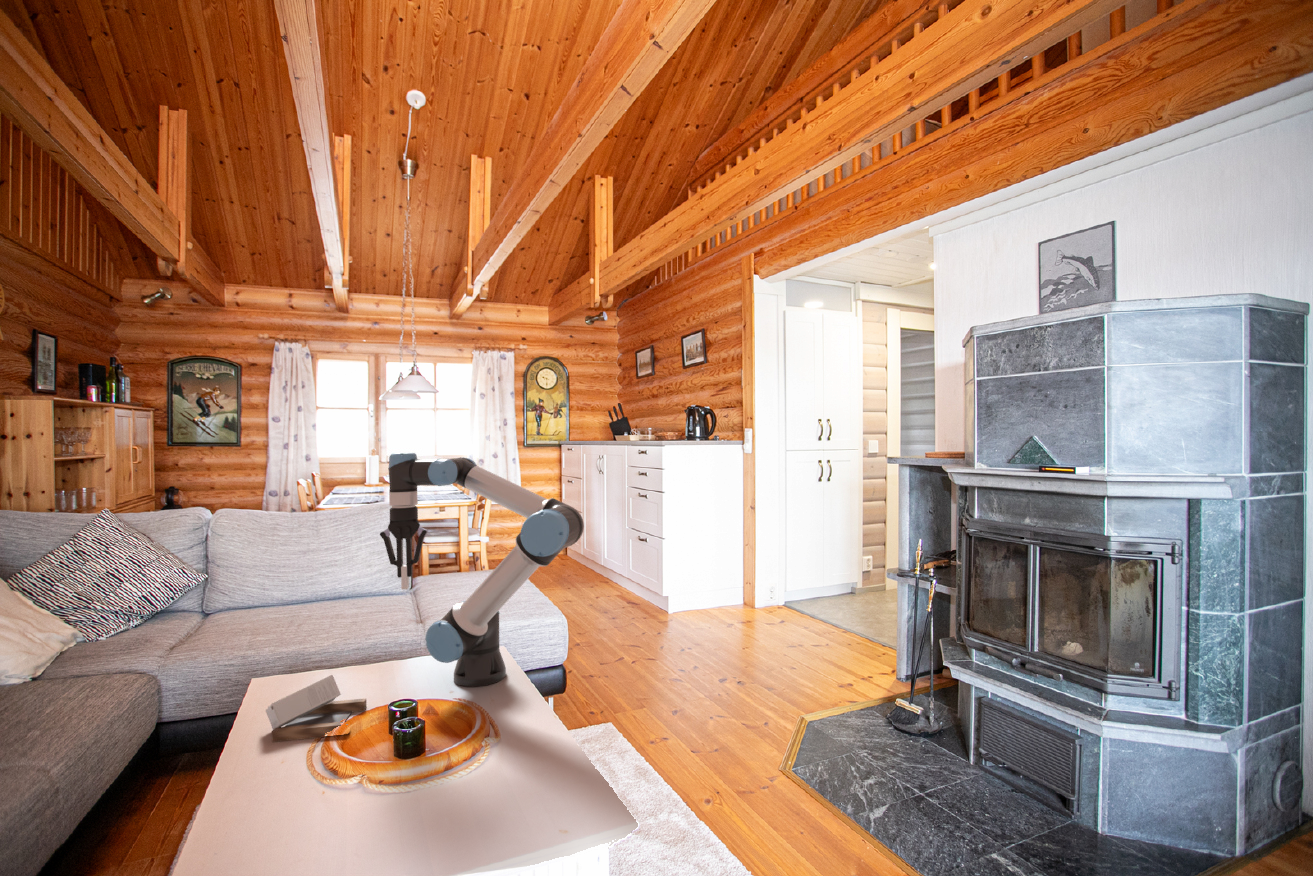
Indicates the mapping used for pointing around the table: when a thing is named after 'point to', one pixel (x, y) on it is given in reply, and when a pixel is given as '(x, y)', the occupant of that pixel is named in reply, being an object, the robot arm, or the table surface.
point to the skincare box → (302, 702)
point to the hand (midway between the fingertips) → (405, 588)
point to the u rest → (318, 720)
